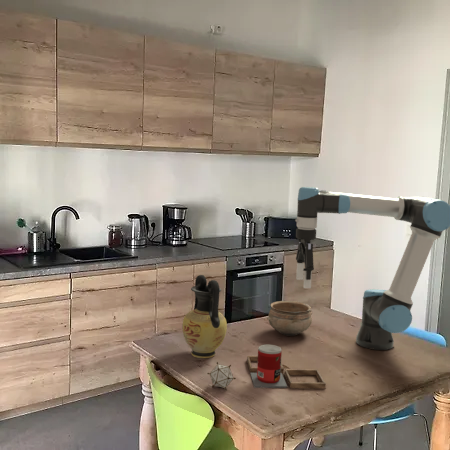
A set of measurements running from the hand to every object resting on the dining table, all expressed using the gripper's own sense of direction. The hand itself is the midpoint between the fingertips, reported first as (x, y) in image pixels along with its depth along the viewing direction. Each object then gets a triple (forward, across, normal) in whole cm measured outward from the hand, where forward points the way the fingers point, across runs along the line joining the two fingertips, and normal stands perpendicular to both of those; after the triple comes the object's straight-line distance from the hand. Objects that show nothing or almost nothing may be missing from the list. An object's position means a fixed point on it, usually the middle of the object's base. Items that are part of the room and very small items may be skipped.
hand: (303, 283), depth 206 cm
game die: (+29, +29, -32) cm, 52 cm away
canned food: (+28, +24, -16) cm, 40 cm away
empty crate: (+29, +24, -3) cm, 37 cm away
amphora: (+29, -1, -37) cm, 47 cm away
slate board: (+29, +24, -16) cm, 40 cm away
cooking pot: (+29, -27, +1) cm, 40 cm away
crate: (+29, +11, -15) cm, 34 cm away
